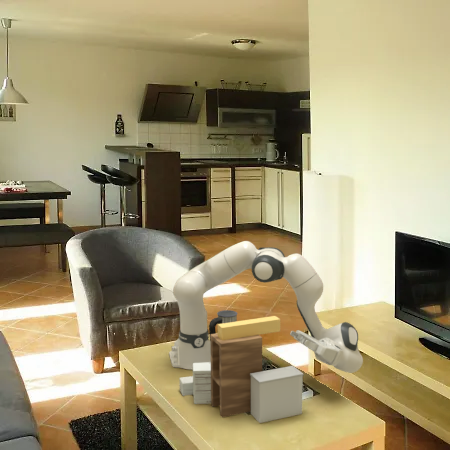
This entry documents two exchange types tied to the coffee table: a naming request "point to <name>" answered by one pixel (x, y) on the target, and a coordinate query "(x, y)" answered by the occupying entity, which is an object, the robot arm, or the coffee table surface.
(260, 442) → the coffee table surface
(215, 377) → the walnut shelf
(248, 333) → the ochre box
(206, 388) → the white drawer cabinet
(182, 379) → the small box
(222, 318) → the milk frother
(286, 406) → the grey box
